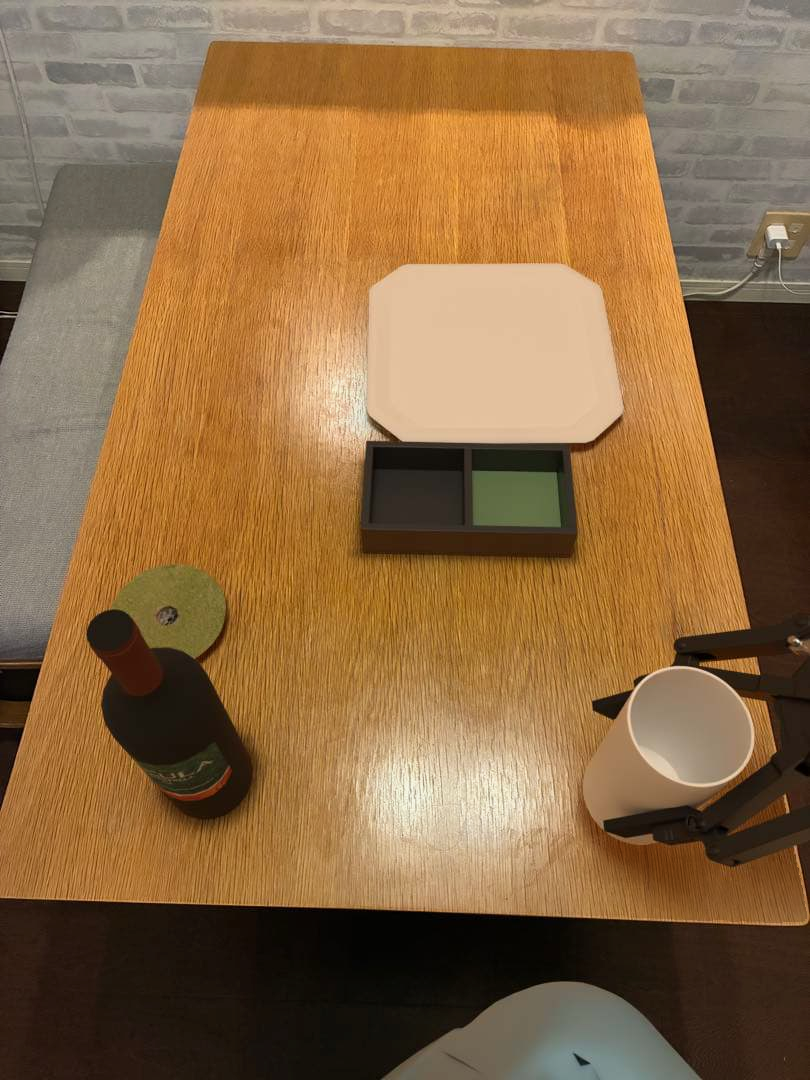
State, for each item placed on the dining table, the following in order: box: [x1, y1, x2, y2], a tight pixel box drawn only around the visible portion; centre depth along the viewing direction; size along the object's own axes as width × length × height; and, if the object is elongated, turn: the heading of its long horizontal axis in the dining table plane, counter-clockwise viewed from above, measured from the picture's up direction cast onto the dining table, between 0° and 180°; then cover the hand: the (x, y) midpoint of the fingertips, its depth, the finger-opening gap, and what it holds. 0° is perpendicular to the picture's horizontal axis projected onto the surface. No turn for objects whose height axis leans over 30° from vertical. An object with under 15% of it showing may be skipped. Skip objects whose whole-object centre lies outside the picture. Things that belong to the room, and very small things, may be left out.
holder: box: [360, 440, 579, 558], centre depth 89 cm, size 11×21×5 cm, turn 88°
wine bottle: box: [85, 609, 254, 821], centre depth 63 cm, size 8×8×30 cm
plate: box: [365, 262, 625, 446], centre depth 101 cm, size 29×29×2 cm
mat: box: [109, 563, 227, 659], centre depth 83 cm, size 11×11×2 cm
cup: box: [582, 666, 755, 846], centre depth 62 cm, size 8×8×16 cm
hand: (608, 767), depth 63 cm, fingers closed on cup, 8 cm apart
